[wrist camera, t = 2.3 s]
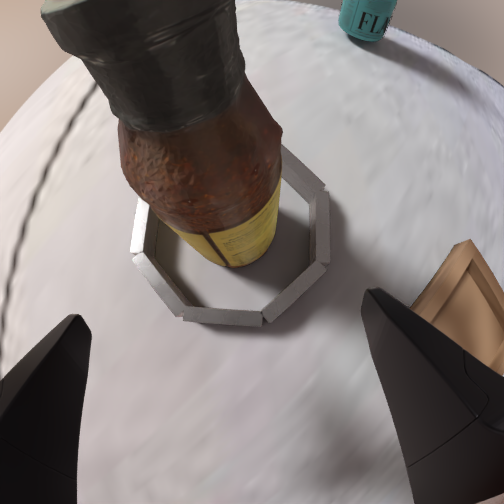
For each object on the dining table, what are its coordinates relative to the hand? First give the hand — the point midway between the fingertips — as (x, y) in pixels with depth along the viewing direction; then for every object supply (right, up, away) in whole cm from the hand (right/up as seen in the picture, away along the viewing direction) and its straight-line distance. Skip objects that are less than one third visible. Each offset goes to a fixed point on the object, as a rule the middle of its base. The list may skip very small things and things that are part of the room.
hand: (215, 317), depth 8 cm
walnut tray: (+20, -7, +12) cm, 24 cm away
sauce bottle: (0, +3, +14) cm, 14 cm away
